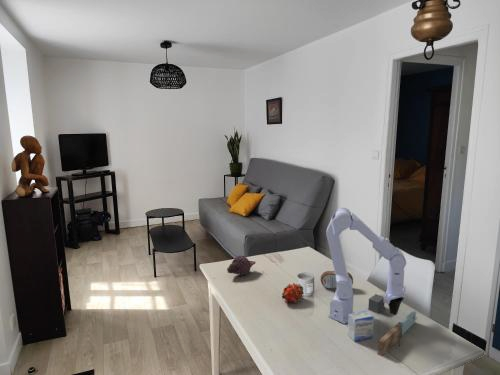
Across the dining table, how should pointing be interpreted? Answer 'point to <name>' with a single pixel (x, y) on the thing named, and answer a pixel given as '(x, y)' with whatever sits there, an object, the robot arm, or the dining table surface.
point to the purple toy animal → (240, 265)
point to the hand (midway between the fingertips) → (393, 313)
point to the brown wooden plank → (389, 339)
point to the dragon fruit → (293, 293)
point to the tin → (330, 279)
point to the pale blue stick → (408, 321)
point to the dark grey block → (376, 303)
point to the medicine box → (360, 325)
